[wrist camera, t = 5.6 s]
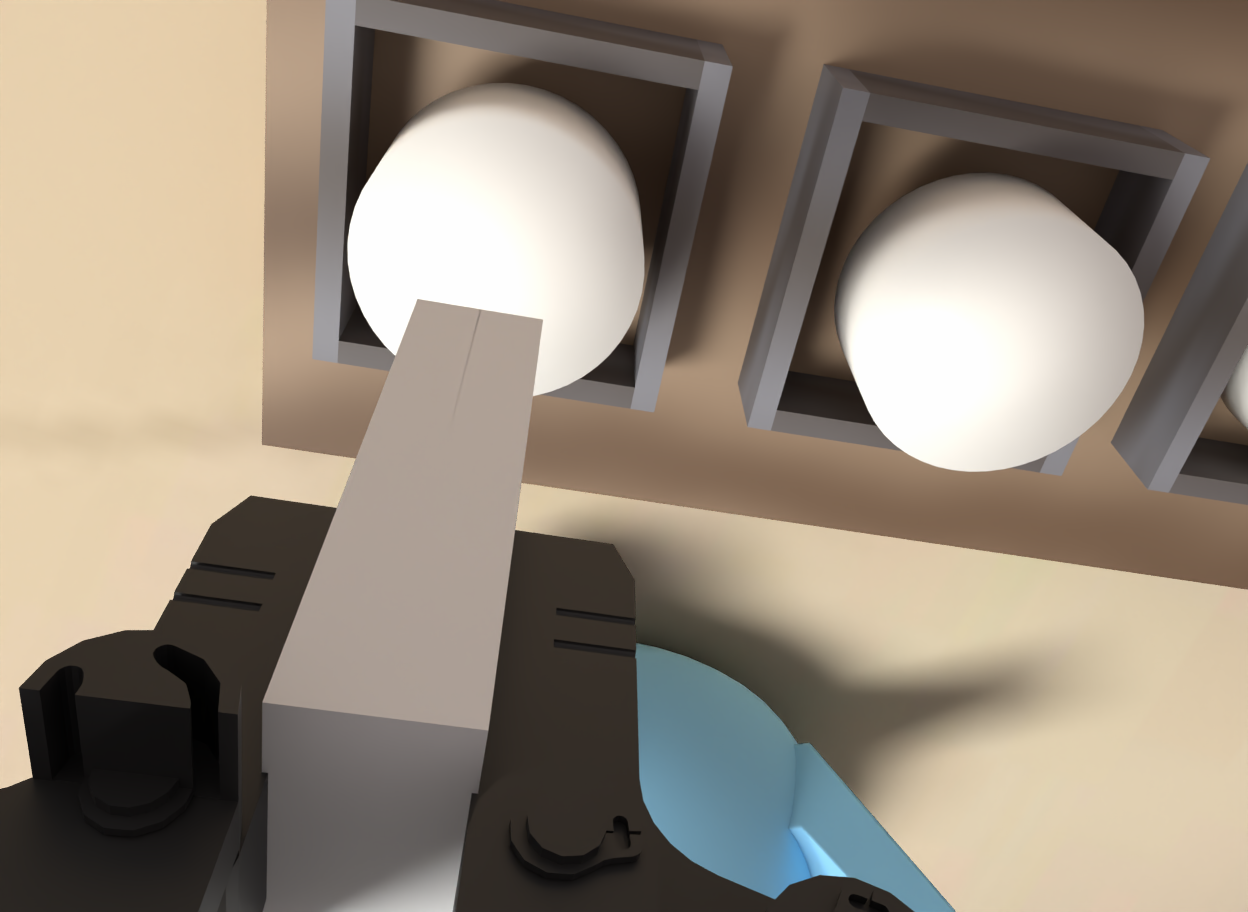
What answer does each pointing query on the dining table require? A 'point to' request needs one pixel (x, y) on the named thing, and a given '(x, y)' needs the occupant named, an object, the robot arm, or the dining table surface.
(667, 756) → the teapot
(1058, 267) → the middle button
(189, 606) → the robot arm
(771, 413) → the button board
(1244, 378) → the end button
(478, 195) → the end button
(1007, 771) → the dining table surface
